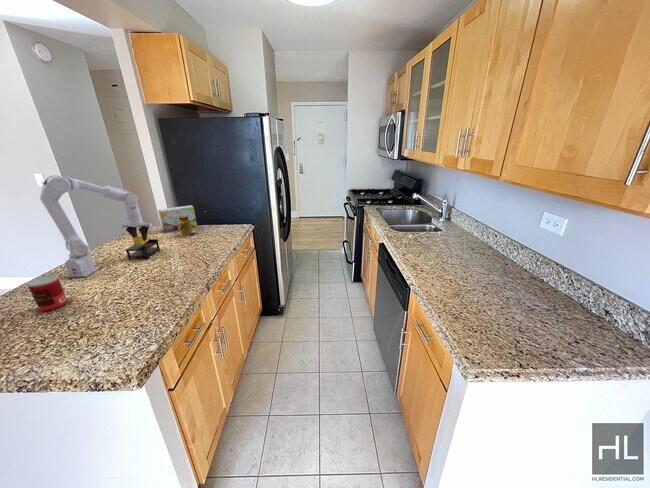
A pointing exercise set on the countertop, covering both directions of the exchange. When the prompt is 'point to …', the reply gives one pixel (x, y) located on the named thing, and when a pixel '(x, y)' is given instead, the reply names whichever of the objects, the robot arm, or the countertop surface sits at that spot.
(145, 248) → the rack
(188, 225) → the condiment
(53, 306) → the canned food
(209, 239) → the countertop surface
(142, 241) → the yellow block
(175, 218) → the snack box
